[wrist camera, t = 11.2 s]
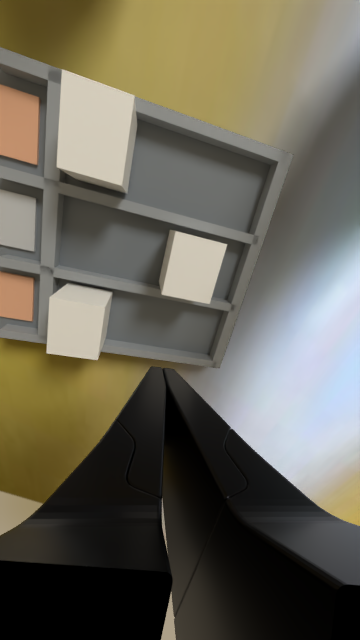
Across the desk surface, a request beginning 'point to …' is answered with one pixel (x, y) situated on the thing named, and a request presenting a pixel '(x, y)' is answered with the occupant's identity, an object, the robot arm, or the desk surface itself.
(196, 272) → the beige squarish block
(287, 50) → the desk surface
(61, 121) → the cream squarish block
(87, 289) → the cream block
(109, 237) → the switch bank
